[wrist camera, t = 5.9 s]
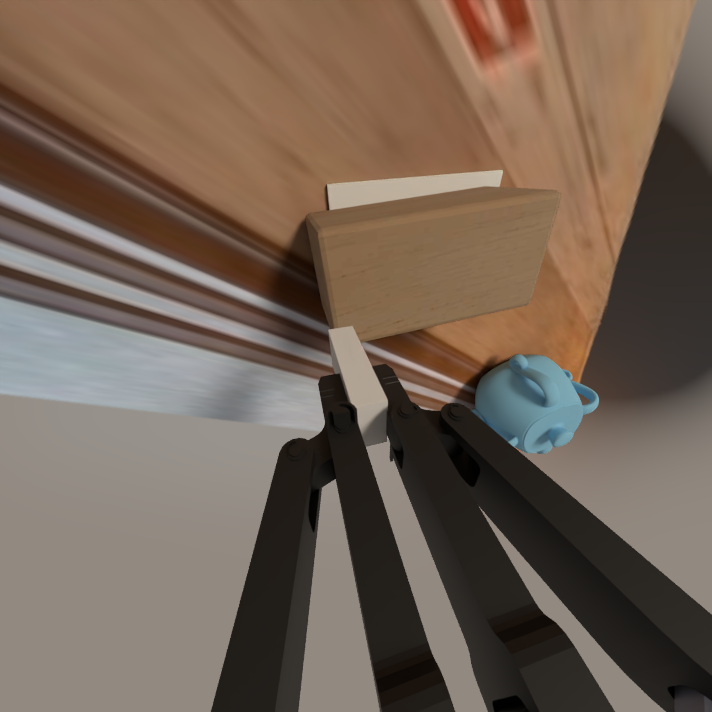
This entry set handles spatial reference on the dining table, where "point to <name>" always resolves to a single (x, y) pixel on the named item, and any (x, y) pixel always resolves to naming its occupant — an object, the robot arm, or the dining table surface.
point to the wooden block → (430, 257)
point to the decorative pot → (532, 403)
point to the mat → (406, 188)
